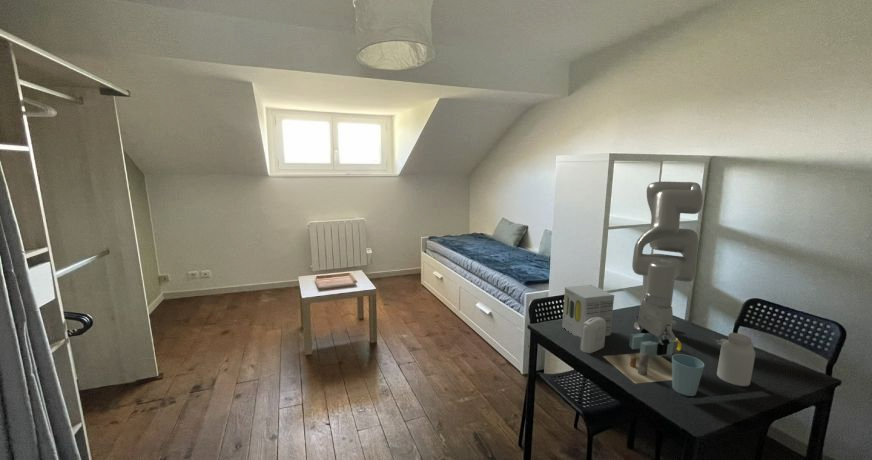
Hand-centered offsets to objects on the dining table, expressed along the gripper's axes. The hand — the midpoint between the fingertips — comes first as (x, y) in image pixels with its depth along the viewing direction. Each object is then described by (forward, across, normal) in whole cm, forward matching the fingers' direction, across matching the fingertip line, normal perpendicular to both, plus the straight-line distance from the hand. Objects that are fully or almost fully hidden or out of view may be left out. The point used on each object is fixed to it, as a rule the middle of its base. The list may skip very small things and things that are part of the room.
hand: (652, 347), depth 121 cm
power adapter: (+6, 0, +32) cm, 33 cm away
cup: (+4, +18, -4) cm, 18 cm away
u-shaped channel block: (+1, 0, 0) cm, 1 cm away
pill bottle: (+5, +15, +16) cm, 22 cm away
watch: (+6, -3, +11) cm, 13 cm away
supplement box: (+6, -23, -10) cm, 26 cm away
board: (+5, +5, -6) cm, 9 cm away
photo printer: (+5, -9, -16) cm, 19 cm away
